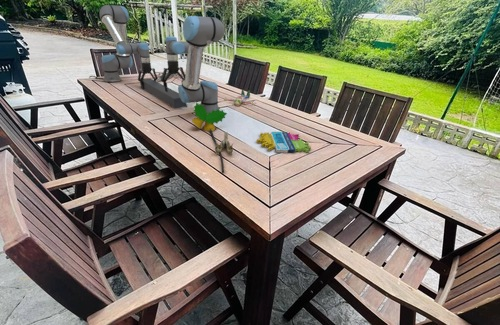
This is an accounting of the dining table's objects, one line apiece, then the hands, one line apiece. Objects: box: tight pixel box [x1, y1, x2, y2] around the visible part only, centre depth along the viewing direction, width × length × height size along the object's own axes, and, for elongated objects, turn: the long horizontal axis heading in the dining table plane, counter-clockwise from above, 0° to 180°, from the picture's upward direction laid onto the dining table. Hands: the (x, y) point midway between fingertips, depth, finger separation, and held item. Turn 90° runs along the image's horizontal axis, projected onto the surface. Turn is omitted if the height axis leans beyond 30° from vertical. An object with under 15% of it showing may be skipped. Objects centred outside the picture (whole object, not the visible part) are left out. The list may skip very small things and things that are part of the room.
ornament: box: [191, 102, 228, 132], centre depth 162 cm, size 21×8×15 cm, turn 105°
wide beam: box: [139, 78, 188, 109], centre depth 219 cm, size 70×10×7 cm, turn 39°
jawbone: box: [214, 131, 234, 156], centre depth 136 cm, size 9×15×10 cm
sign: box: [256, 131, 312, 154], centre depth 152 cm, size 26×2×30 cm
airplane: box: [155, 70, 179, 82], centre depth 278 cm, size 38×31×10 cm
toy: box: [223, 89, 257, 106], centre depth 219 cm, size 28×7×30 cm
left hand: (149, 88), depth 238 cm, fingers closed on wide beam, 10 cm apart
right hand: (175, 90), depth 197 cm, fingers open, 13 cm apart
